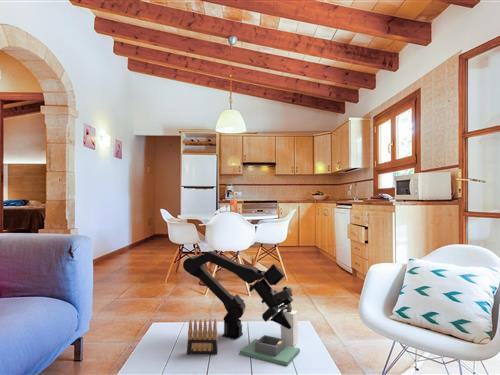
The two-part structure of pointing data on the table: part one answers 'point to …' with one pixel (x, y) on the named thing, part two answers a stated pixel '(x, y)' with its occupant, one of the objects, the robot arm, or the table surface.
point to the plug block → (291, 334)
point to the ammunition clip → (202, 339)
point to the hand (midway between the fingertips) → (292, 326)
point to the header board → (271, 350)
